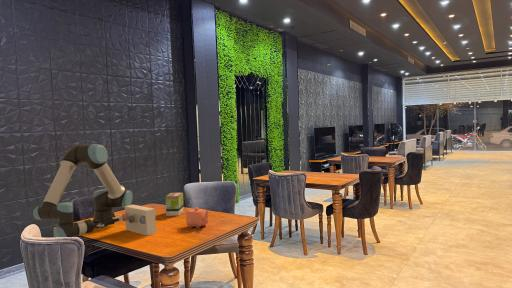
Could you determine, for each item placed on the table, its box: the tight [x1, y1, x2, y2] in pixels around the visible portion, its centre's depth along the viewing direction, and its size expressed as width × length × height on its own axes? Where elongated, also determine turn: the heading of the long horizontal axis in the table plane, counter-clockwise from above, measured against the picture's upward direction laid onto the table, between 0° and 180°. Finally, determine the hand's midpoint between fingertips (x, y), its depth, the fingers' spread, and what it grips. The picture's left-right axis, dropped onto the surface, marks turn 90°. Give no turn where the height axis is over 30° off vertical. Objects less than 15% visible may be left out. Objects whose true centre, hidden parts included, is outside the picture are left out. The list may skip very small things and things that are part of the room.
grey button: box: [128, 215, 135, 223], centre depth 219 cm, size 4×2×4 cm, turn 50°
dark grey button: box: [140, 216, 145, 224], centre depth 216 cm, size 4×2×4 cm, turn 50°
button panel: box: [124, 204, 157, 237], centre depth 223 cm, size 24×6×15 cm, turn 50°
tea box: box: [165, 192, 185, 217], centre depth 268 cm, size 15×10×15 cm, turn 179°
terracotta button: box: [121, 213, 128, 222], centre depth 224 cm, size 4×2×4 cm, turn 50°
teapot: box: [185, 207, 210, 230], centre depth 229 cm, size 20×12×12 cm, turn 58°
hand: (122, 218), depth 223 cm, fingers closed
